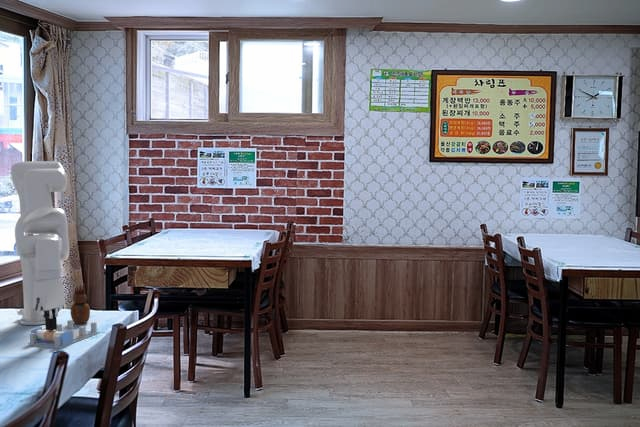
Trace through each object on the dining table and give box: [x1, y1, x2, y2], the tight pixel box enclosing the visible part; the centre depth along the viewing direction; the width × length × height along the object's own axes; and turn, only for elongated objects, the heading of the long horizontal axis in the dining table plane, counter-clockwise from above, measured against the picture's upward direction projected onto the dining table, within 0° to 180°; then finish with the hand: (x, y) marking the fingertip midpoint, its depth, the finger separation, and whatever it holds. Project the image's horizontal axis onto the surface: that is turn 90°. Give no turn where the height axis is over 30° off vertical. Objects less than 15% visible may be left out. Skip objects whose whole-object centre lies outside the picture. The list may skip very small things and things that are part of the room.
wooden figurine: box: [70, 283, 91, 325], centre depth 242 cm, size 7×6×15 cm
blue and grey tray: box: [28, 319, 100, 349], centre depth 221 cm, size 13×19×5 cm
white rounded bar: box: [36, 330, 63, 342], centre depth 216 cm, size 11×4×4 cm, turn 70°
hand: (51, 329), depth 215 cm, fingers closed
